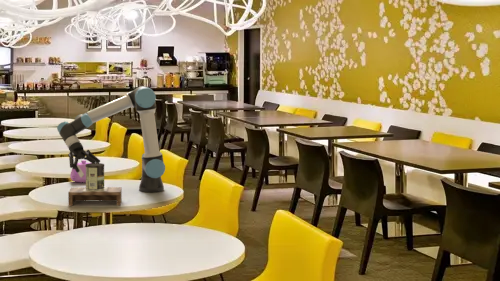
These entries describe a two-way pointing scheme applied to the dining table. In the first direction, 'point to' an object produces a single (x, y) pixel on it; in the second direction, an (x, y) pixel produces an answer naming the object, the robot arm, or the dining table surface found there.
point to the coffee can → (95, 176)
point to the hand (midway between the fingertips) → (92, 174)
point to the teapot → (75, 175)
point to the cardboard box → (95, 194)
